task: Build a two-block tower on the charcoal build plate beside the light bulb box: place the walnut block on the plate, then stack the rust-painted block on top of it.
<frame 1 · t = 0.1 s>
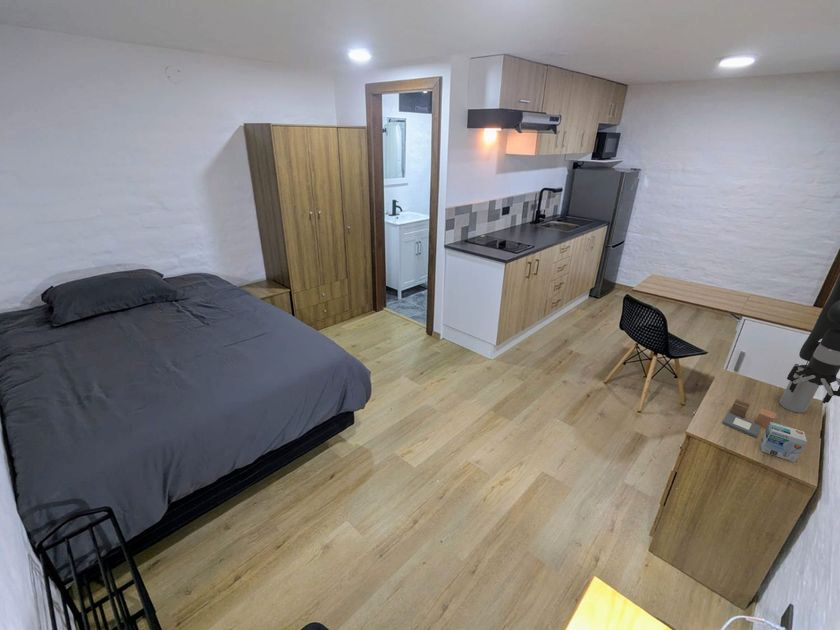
hand: (807, 396, 141), 29 cm above the table, fingers open, 8 cm apart
rust block: (762, 424, 171), on the table
walnut block: (737, 414, 177), on the table
build plate: (741, 425, 170), on the table
light bulb box: (776, 452, 156), on the table
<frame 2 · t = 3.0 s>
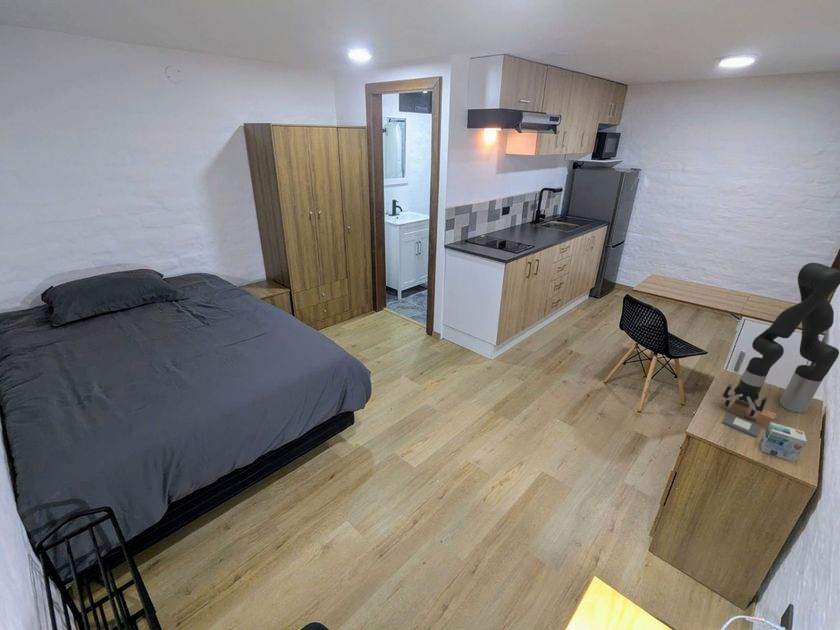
hand: (738, 410, 176), 2 cm above the table, fingers open, 8 cm apart
rust block: (762, 424, 171), on the table, touching gripper
everything else where it was.
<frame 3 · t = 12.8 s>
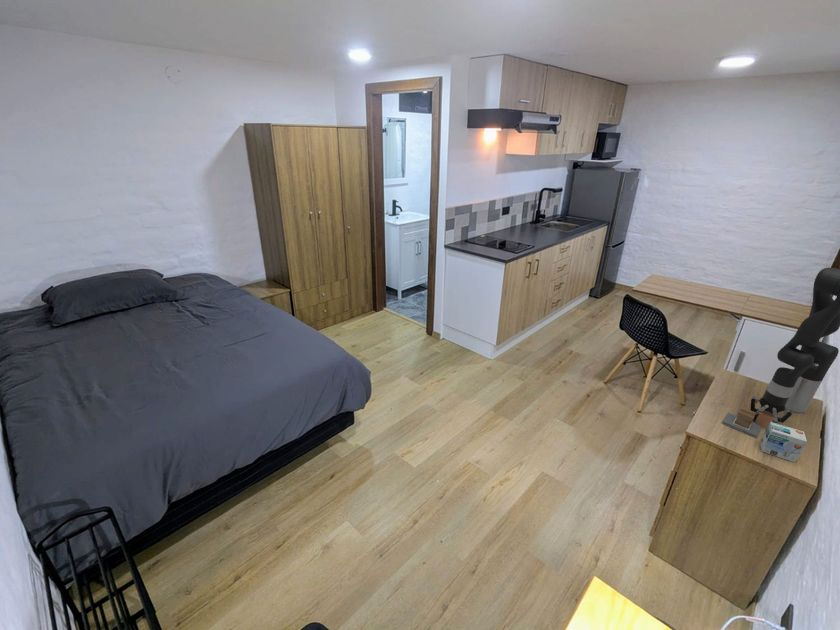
hand: (762, 423, 171), 0 cm above the table, fingers closed on rust block, 5 cm apart
rust block: (762, 424, 171), on the table, touching gripper
walnut block: (742, 423, 169), point 1 cm above the table, touching build plate
everything else where it was.
when the fingers open (9 cm above the table, at t = 18.2 s): rust block stays where it is, resting on walnut block.
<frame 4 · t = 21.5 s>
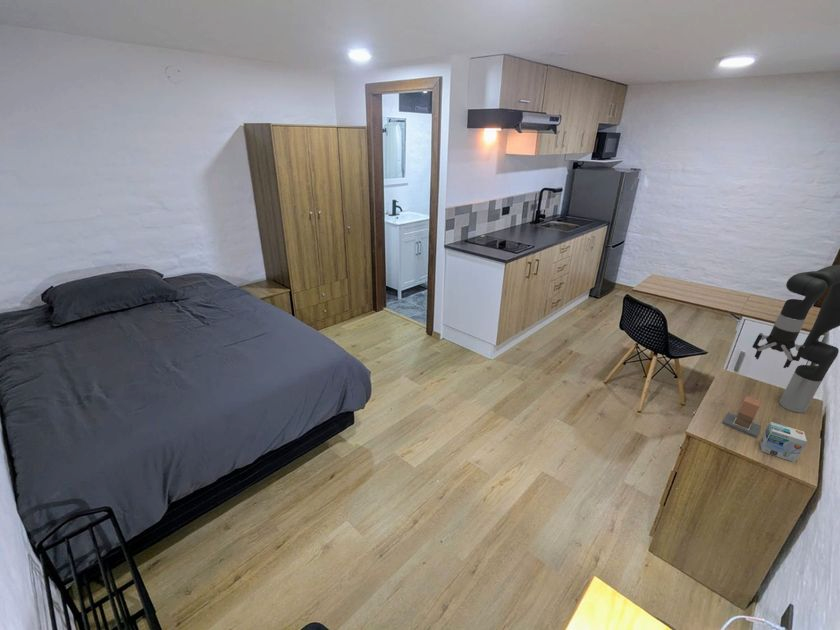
hand: (770, 362, 156), 32 cm above the table, fingers open, 8 cm apart
rust block: (747, 412, 167), point 7 cm above the table, touching walnut block
walnut block: (742, 423, 169), point 1 cm above the table, touching build plate, rust block
everything else where it was.
at the end: walnut block inside the target area on the build plate (0.1 cm from its centre), point 1.3 cm above the build plate's base; rust block 0.1 cm off-centre on the walnut block, point 6.0 cm above the walnut block's base; rust block tilted 0° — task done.
